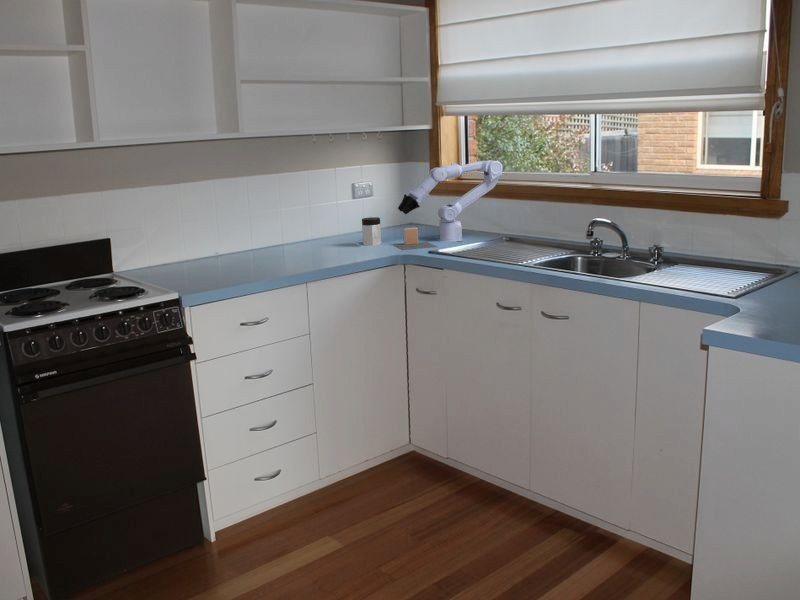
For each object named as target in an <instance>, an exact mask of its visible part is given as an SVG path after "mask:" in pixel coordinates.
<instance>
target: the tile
mask: <svg viewBox="0 0 800 600" xmlns="http://www.w3.org/2000/svg"><path fill="white" fill-rule="evenodd" d="M418 229H419V228H418V227H408V228H403V244H404V245H410V244H418V243H419V233H418Z"/></svg>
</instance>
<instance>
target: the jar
mask: <svg viewBox="0 0 800 600" xmlns="http://www.w3.org/2000/svg"><path fill="white" fill-rule="evenodd" d="M361 226H362V227H361V228H362V229H361V231H362V245H363V246H379V245H382V232H381V230H382V229H381V217H378V216H377V217H375V216H374V217H371V216H369V217H363V218H361Z"/></svg>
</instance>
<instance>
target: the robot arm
mask: <svg viewBox="0 0 800 600" xmlns="http://www.w3.org/2000/svg"><path fill="white" fill-rule="evenodd" d="M474 171H482V172H483V181H482V182H480V183H479V184H478V185H476V186H475V187H473V188H472V189H470V190H468V191H467V192H466V193H465V194H463V195H461V196H460V197H459V198H458V199H456V200H454V201H451V202H449V203H448V204H445V205H442V206H440V207H439V208H438V210H437V211H438V212H437V214H438V216H439V220H438V221H439V239H437V241H439V242H441V243H448V242H463V241H464V240H463V230H462V229H463V227H462V223H461V221H460V220H457V219H456V218H457V217H458V215H459V214H461V212H462V211H463V210H464V209H466V208H467V207H468V206H469V205H471V204H472V203H474V202H476V201H477V200H478V199H480V198H481V197H483V196H485V195H486V194H488V192H490V191H492V190H493V189H494V188H495V187H496V185H497V183H498V181H499V179H500V177H501V176H502V175H503V163H501V162H500V161H498V160H491V159H488V160H477V161H474V162H471V163H466V164H463V165H459V164H458V163H455V162H451V164H449V165H441V166H440V167H434V168H432V169H430V171H429V174H428V175H427V176H426V177H424V178H423V179H422V180H421V182H420V183H418V185H416V187H415V188H413V189H412V190H411V189H409V190H408V192H409V194H408V195H407V194H405V193H404V195H403V198H402V200H401V202H400V204H399V205H398V207H397V209H398V211H399V212H402V213H403V214H404V215H407V214H409V213H411V212H412V211H414V210H416V209H418V208H420V207H421V206H420V205H419V204H420V203H422V201H423V200H424V198H426V196H428V195H429V193H430V192H431V191H432V190H433V189H434V188H435V187H436V186H437V185H438V184H439V182H443V181H445V180H449V179H453V178H459V177H460V176H461V175H462V173H468V172H474Z"/></svg>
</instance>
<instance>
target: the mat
mask: <svg viewBox="0 0 800 600" xmlns="http://www.w3.org/2000/svg"><path fill="white" fill-rule="evenodd" d="M392 246H393V247H396V248H397V249H399V250H400V251H407V250H419V249H430V248H439V246H438V245H435V244H433V243H430V242H429V241H420V242H418V244H410V245H404V243H399V244H392Z"/></svg>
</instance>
